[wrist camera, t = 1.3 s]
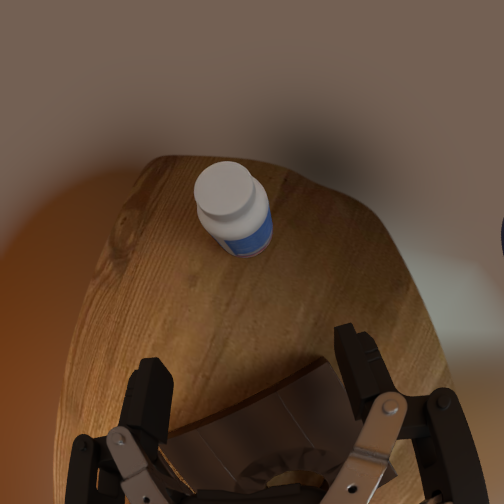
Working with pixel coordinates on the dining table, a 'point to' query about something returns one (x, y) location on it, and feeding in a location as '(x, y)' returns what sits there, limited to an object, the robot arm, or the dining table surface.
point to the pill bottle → (234, 209)
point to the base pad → (271, 435)
